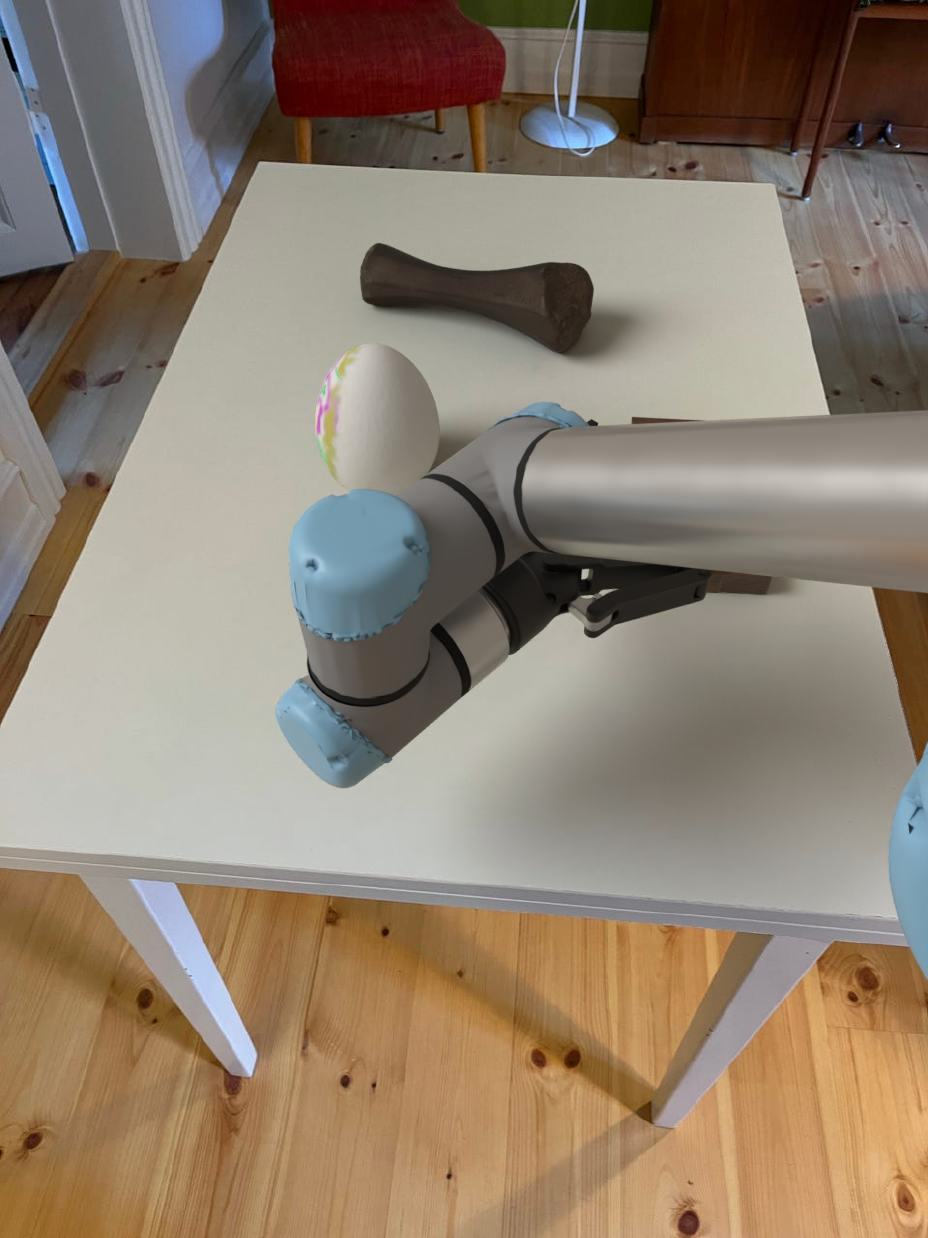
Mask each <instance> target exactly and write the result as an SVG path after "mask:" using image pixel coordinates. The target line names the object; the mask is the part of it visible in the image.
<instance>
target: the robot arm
mask: <svg viewBox="0 0 928 1238" xmlns="http://www.w3.org/2000/svg"><path fill="white" fill-rule="evenodd" d="M289 537H290V538H289V543H288V560H289V562H288V568H289V569H288V571H289V581H290V596H291V600H292V604H293V608H294V609H295V611H296V615H297V619H298V622H299V626H300V631H301V634H302V638H303V642H304V646H305V651H306V668H307V675H305V676H303V677H302V678H301V677H299V678H298V679H296V680H295V682H294V683H293V685H292V686H290V687H289V689H287V690H286V691H285V692H284V693H283V694H282V695H281V696H280V697H279V699H278V701H277V704H276V706H275V711H274V712H275V713H274V714H275V717H276V721H277V724H278V726H279V728H280V731H281V732H282V735H283V737H284V738H285V740H286V742H287V743H288V744H289V746H290V747H291V748H292V750H293V751H294V752H295V754H296V755H297V757H298V758H299V759H300V760H301V761H302V762H303V763H304V764H305V766H306V767H308V769H309V770H311V772H313V773H314V775H316V776H317V777H318V778H319V779H320V780H322V781H323V782H325V783H326V784H328V785H330V786H332V787H335V788H337V789H349V788H353V787H354V786H357V785H358V784H359V783H360V782H362V781H363V780H365V779H366V778H367V777H369V776H370V775H371V774H372V773H374V772H375V771H376V770H378V769H379V768H380V767H382V766H383V765H384V764H389V763H391V762H392V761H393V758H394V757H395V756H396V755H397V754H398V753H399V752H401V751H402V750H403V749H404V748H405V747H407V745H409V744H410V743H411V742H412V741H413V740H415V739H416V738H417V737H418V736H419V735H420V734H421V733H423V732H424V731H425V730H426V729H427V728H429V727H430V726H431V725H432V724H433V723H435V722H436V720H438V719H439V718H440V717H441V716H442V715H443V714H444V713H446V712H447V711H448V710H449V709H450V708H452V706H454V705H455V704H456V703H457V702H458V701H459V700H461V699H462V698H463V697H464V696H466V694H468V693H470V692H471V691H472V690H473V689H474V688H475V687H476V686H478V685H479V684H480V683H482V682H483V681H484V680H485V679H486V678H487V677H489V676H490V675H491V674H492V673H493V672H495V671H496V670H497V669H498V668H499V667H500V666H502V664H504V663H505V662H506V661H507V659H508V658H509V656H512V655H514V654H516V653H518V652H519V651H520V650H521V649H522V648H523V647H524V646H526V645H527V644H529V642H531V641H532V640H533V639H534V638H535V637H536V636H538V635H539V634H540V633H541V632H542V631H544V629H545V628H547V626H548V625H550V623H551V622H552V621H553V620H554V619H555V618H557V617H558V616H561V615H563V614H564V615H565V614H568V613H570V614H571V615H572V616H574V617H575V618H576V619H577V620H578V621H580V622H581V624H583V625H584V626H583V634H584V635H585V637H587V638H590V639H596V638H599V637H600V636H602V635H603V634H605V632H606V633H607V631H609V630H610V629H611V628H613V627H614V626H616V625H620V624H625V623H628V622H631V621H634V620H639V619H642V618H644V617H649V616H652V615H655V614H659V613H664V612H667V611H671V610H674V609H677V608H681V607H684V606H688V605H691V604H692V605H693V604H694V603H699V602H701V601H704V600H705V599H706V596H707V593H708V592H707V589H708V586H709V582H710V579H711V575H712V572H711V570H717V571H726V572H736V573H745V574H754V575H764V576H773V577H774V578H782V579H784V578H785V579H793V580H803V581H812V582H821V583H829V584H830V583H831V584H840V585H848V586H859V587H868V588H877V589H887V590H896V591H905V592H915V593H924V594H928V409H924V410H904V411H903V410H901V411H884V412H883V411H881V412H863V413H862V412H861V413H860V412H859V413H841V414H821V415H819V414H818V415H799V416H798V415H797V416H795V415H794V416H778V417H777V416H776V417H775V416H773V417H759V418H754V417H753V418H736V419H734V418H733V419H715V420H714V419H712V420H710V419H709V420H706V421H689V422H668V423H646V424H631V423H629V424H627V423H626V424H609V425H606V424H605V425H599V422H597V421H595V420H594V419H592V418H591V419H589V420H588V421H586V420H585V418H583V417H582V416H581V415H579V414H578V413H577V412H576V411H574V410H567V409H565V408H563V407H562V406H561V405H560V403H556V402H552V401H539V402H534V403H531V404H528V405H527V406H525V407H523V408H521V409H519V410H518V411H516V412H514V413H512V414H510V415H508V416H505V417H503V418H501V419H499V420H497V421H496V422H495V423H494V424H493V425H491V426H490V427H488V428H487V429H486V430H485V432H483V433H481V434H480V435H479V436H478V437H477V438H475V439H473V440H472V441H471V442H469V443H468V444H467V445H466V446H464V447H463V448H461V449H460V450H459V451H457V452H456V453H455V454H453V455H451V456H450V457H449V458H447V459H446V460H444V461H443V462H442V463H441V464H439V465H438V466H435V468H433V469H432V470H430V471H429V472H428V473H427V475H425V476H424V477H422V478H421V479H419V480H417V481H416V482H414V483H413V484H411V485H410V486H408V487H407V488H406V489H404V490H403V491H401V492H400V493H398V494H397V495H396V496H394V495H392V494H389V493H386V492H383V491H378V490H372V489H354V490H351V491H349V492H348V493H346V494H342V495H335V494H329V495H326V496H325V497H322V498H320V499H319V500H317V501H316V502H314V503H313V504H312V505H310V506H309V507H308V508H307V509H306V510H305V511H304V512H303V513H302V515H300V517H299V518H298V520H297V521H296V523H295V525H294V526H293V529H292V531H291V534H290V536H289ZM583 570H588V573H587V577H586V578H582V575H583ZM773 577H772V578H773ZM606 590H607V591H608V590H611V591H609V592H607V593H605V594H603V595H602V594H601V592H602V591H606ZM585 596H586V597H587V598H585ZM588 596H592V597H588ZM888 841H889V842H888V856H887V860H888V863H887V864H888V877H889V883H890V884H889V885H890V890H891V896H892V900H893V904H894V908H895V911H896V916H897V919H898V921H899V924H900V927H901V930H902V934H903V936H904V937H905V940H906V942H907V945H908V947H909V949H910V951H911V953H912V955H913V957H914V959H915V962H916V963H917V965H918V966H919V969H920V970H921V972H922V974H923V976H924V977H925V979H926V981H928V741H927V742H926V745H925V747H924V750H923V753H922V758H921V759H920V761H919V763H918V764H917V766H916V768H915V770H914V771H913V773H912V774H911V776H910V778H909V779H908V781H907V783H906V785H905V786H904V788H903V790H902V792H901V794H900V797H899V800H898V803H897V805H896V808H895V810H894V814H893V818H892V821H891V827H890V834H889V839H888Z"/></svg>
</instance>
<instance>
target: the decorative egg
mask: <svg viewBox="0 0 928 1238" xmlns="http://www.w3.org/2000/svg"><path fill="white" fill-rule="evenodd" d="M440 429H441V428H440V418H439V412H438V407H437V403H436V401H435V398H434V395H433V392H432V390H431V388H430V386H429V383H428V382H427V380H426V378H425V377H424V376H423V374H422V373H421V371H420V370H419V369H418V368H417V366H416V365H415V363H413V362H412V361H411V360H410V359H409V358H408V357H407V356H406V355H404V354H403V353H402V352H400V351H399V350H397V349H396V348H394V347H391V346H389V345H386V344H384V343H379V342H367V343H362V344H359V345H356V346H354V347H352V348H350V349H349V350H347V351H346V352H344V353H343V354H341V356H340V357H339V358H338V359H337V360H336V361H335V362H334V363H333V365H332V366H331V368H330V369H329V370H328V372H327V374H326V375H325V378H324V380H323V381H322V383H321V387H320V389H319V392H318V396H317V400H316V406H315V413H314V431H315V440H316V443H317V444H316V445H317V448H318V451H319V454H320V458H321V460H322V462H323V464H324V465H325V467H326V469H327V470H328V472H329V473H330V475H331V476H332V477H333V478H334V480H335V481H336V482H337V483H338V484H339V485H340V486H342V487H343V488H344V489H346V490H347V491H349V492H350V491H351V490H354V489H372V490H378V491H383V492H386V493H389V494H392V495H394V496H396V495H397V494H398V493H400V492H401V491H403V490H404V489H406V488H407V487H408V486H410V485H411V484H413V483H414V482H416V481H417V480H419V479H421V478H422V477H424V476H425V475H427V474H428V473H429V472H430V471H431V468H432V466H433V465H434V462H435V459H436V457H437V454H438V450H439V445H440V444H439V443H440V433H441V432H440V431H441V430H440Z"/></svg>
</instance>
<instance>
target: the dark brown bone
mask: <svg viewBox="0 0 928 1238" xmlns="http://www.w3.org/2000/svg"><path fill="white" fill-rule="evenodd" d="M359 272H360V274H359V283H360V292H361V298H362V300H363V302H364V303H366V304H368V305H370V306H374V307H376V306H377V307H386V306H387V307H388V306H395V305H396V306H398V305H399V306H400V305H429V306H437V307H438V306H439V307H445V308H450V309H456V310H461V311H466V312H470V313H474V314H477V315H480V316H483V317H485V318H489V319H491V320H494V321H497V322H499V323H502V324H503V325H505V326H507V327H510V328H512V329H514V330H516V331H518V332H519V333H522V334H523V335H525V336H527V337H529V338H531V339H533V340H534V341H535V342H537V343H539V344H541V345H542V346H544V347H546V348H547V349H549V350H550V351H552V352H554V353H563V352H566V351H568V349H570V348H571V347H573V345H575V344H576V342H577V341H578V340H579V339H580V338H581V336H582V333H583V331H584V329H585V327H586V326H587V325H588V323H589V322H590V319H591V317H592V307H593V301H594V293H595V288H594V284H593V281H592V277H591V276H590V274H589V272H588V271H587V270H586V269H585V268H584V267H583V266H581V265H579V264H578V263H573V262H557V261H547V262H541V263H537V264H532V265H525V266H519V267H512V268H503V269H492V270H476V269H475V270H472V269H471V270H470V269H460V268H454V267H448V266H442V265H438V264H435V263H432V262H429V261H426V260H424V259H421V258H419V257H416V256H414V255H412V254H409V253H407V252H405V251H402V250H401V249H398V248H396V247H394V246H391V245H389V244H386V243H383V242H382V243H381V242H375V243H374V244H372V245H371V246H370V247H369V248H368V249H367V251H366V252H365V254H364V257H363V259H362V263H361V265H360V270H359Z"/></svg>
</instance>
